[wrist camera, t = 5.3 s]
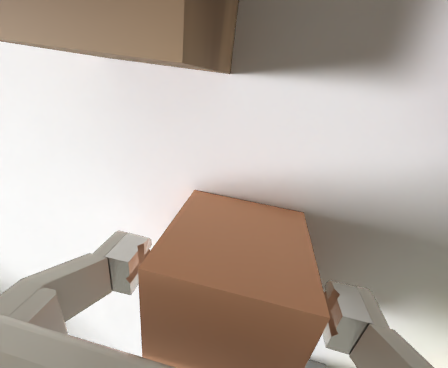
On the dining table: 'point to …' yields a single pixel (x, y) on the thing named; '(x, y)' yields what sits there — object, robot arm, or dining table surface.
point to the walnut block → (128, 29)
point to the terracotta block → (232, 288)
